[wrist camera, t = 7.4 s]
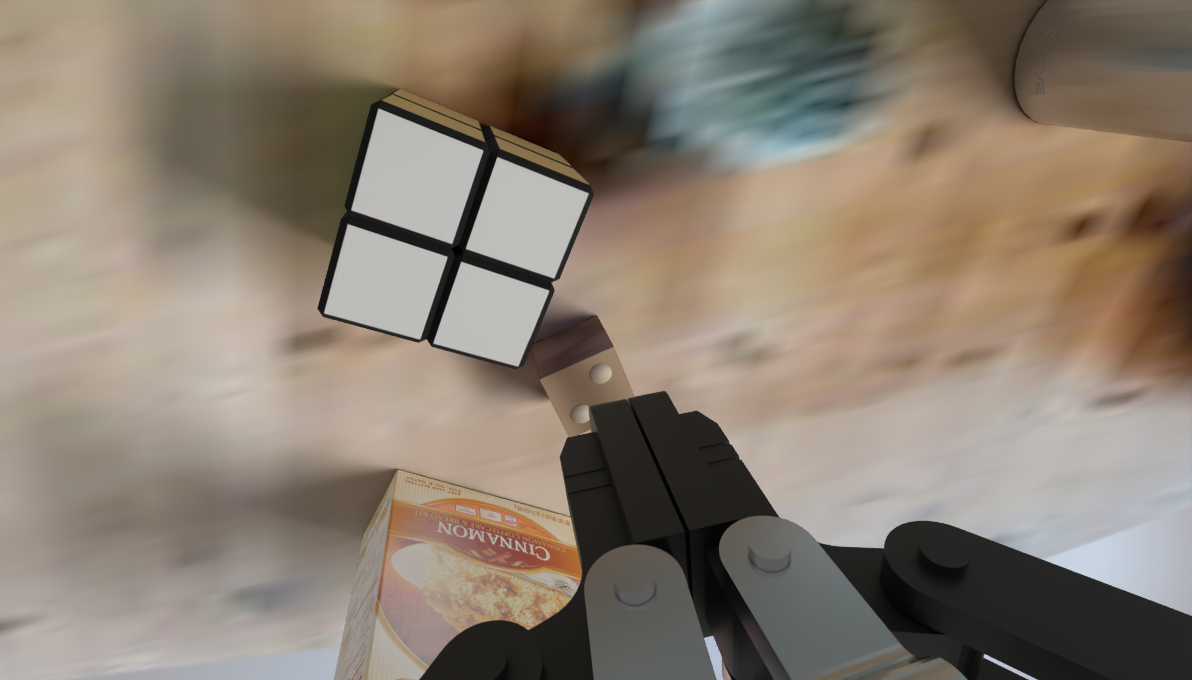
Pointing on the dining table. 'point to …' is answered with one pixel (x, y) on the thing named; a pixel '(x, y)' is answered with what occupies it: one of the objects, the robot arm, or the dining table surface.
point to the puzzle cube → (452, 232)
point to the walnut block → (580, 372)
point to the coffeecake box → (449, 574)
